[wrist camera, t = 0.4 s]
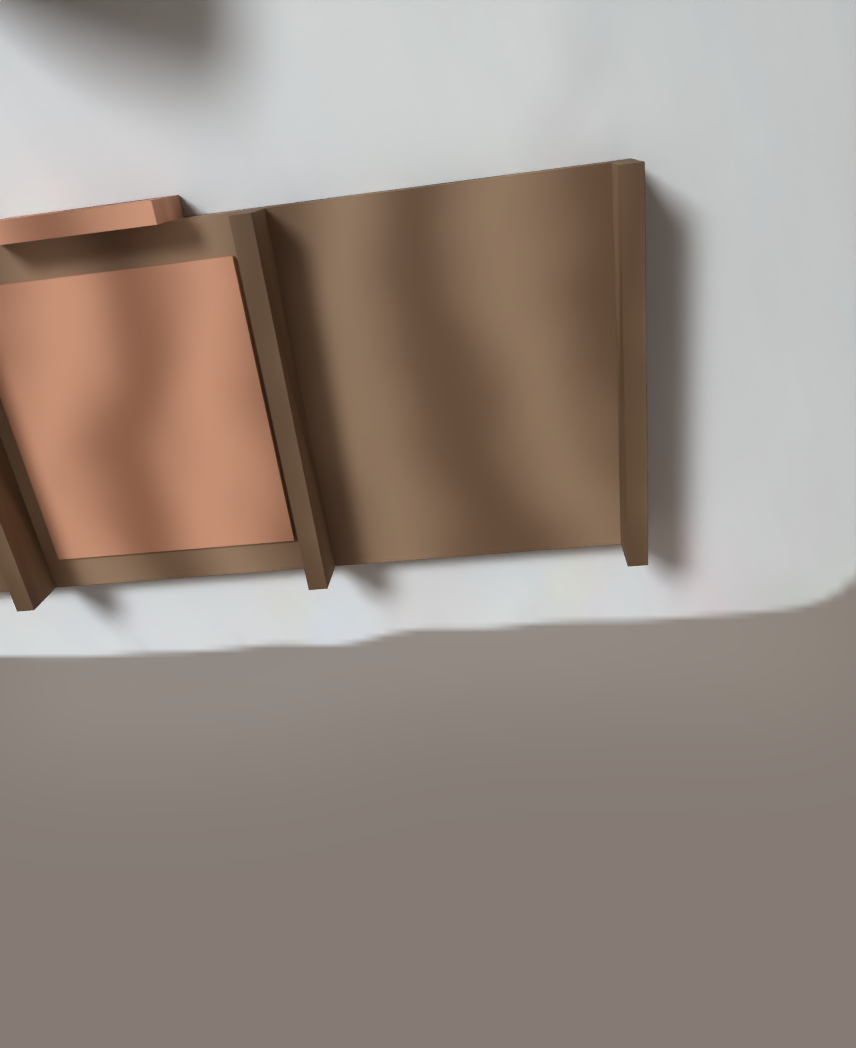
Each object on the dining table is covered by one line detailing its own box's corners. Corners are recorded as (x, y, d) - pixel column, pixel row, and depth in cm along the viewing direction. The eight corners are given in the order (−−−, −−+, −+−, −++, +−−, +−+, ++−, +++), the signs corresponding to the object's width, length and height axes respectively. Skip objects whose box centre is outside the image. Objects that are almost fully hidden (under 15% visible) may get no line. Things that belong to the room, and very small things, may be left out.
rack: (630, 133, 29) (645, 134, 26) (636, 529, 36) (649, 564, 33) (-371, 268, 34) (-451, 281, 31) (-199, 595, 40) (-251, 631, 37)
